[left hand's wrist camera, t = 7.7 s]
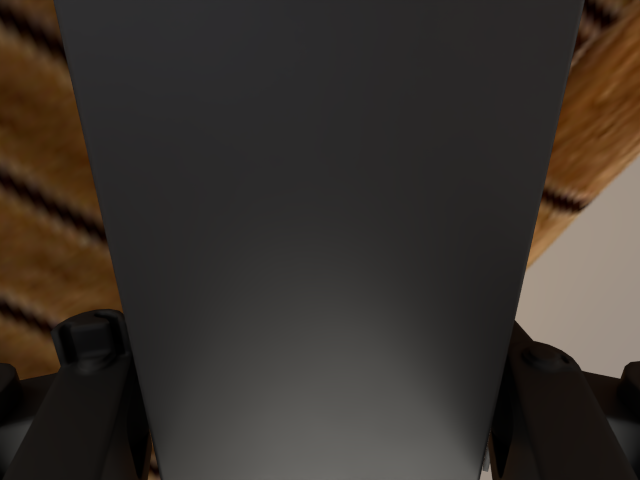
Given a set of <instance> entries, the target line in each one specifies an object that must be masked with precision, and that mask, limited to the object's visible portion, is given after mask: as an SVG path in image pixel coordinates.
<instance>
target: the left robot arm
mask: <svg viewBox="0 0 640 480" xmlns="http://www.w3.org/2000/svg"><path fill="white" fill-rule="evenodd" d="M51 335H52V339H53V342H54V345H55V349H56V352H57V355H58V358H59V362H60V365H61V367H60V369H59V371H58V373H54V374H50V375H45V376H40V377H35V378H30V379H25V380H19V377H18V374H17V371H16V369H15V368H14V367H13V366H12V365H10V364H6V363H0V480H148V473H149V466H150V458H151V451H152V441H151V435H150V430H149V424H148V420H147V415H146V411H145V406H144V402H143V397H142V393H141V388H140V384H139V380H138V375H137V371H136V366H135V362H134V357H133V353H132V348H131V344H130V339H129V335H128V331H127V326H126V322H125V317H124V314H123V313H121V312H120V311H117V310H112V309H99V310H93V311H88V312H84V313H81V314H78V315H75V316H73V317H70V318H68V319H66V320H65V321H63V322H61V323H60V324H58V325H57V326H56V327H55V328H54V329H53V330H52V331H51ZM489 464H490V465H491V472H492V479H493V480H640V361H637V362H630V363H629V364H628V365H626V366H625V368H624V370H623V373H622V376H621V379H619V378H614V377H609V376H604V375H599V374H594V373H589V372H585V371H582V370H581V369H580V367H579V365H578V364H577V363H576V362H575V360H574V359H573V358H572V357H571V356H569V355H568V354H566V353H565V352H563V351H562V350H560V349H557V348H555V347H553V346H551V345H548V344H544V343H540V342H536V341H533V340H532V339H531V338H530V337H529V335H528V334H527V333H526V332H525V331H524V330H523V329H522V328H521V326H520V325H519V324H518V323H517V322H516V321H515V320H514V325H513V329H512V334H511V339H510V343H509V348H508V352H507V357H506V361H505V366H504V371H503V375H502V380H501V384H500V389H499V393H498V398H497V402H496V407H495V412H494V416H493V421H492V425H491V430H490V435H489V440H488V444H487V449H486V453H485V458H484V463H483V471H488V469H489Z"/></svg>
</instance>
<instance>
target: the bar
mask: <svg viewBox="0 0 640 480" xmlns="http://www.w3.org/2000/svg"><path fill="white" fill-rule="evenodd" d="M584 1H585V0H54V5H55V9H56V14H57V18H58V23H59V27H60V32H61V36H62V41H63V45H64V50H65V54H66V58H67V63H68V67H69V72H70V76H71V81H72V85H73V90H74V94H75V99H76V103H77V107H78V112H79V116H80V121H81V125H82V130H83V134H84V139H85V143H86V148H87V152H88V157H89V161H90V165H91V170H92V174H93V179H94V183H95V188H96V192H97V197H98V201H99V206H100V210H101V215H102V219H103V223H104V228H105V232H106V237H107V241H108V246H109V250H110V255H111V259H112V264H113V268H114V273H115V277H116V281H117V286H118V290H119V295H120V299H121V304H122V308H123V313H124V317H125V322H126V326H127V331H128V335H129V339H130V344H131V348H132V353H133V357H134V362H135V366H136V371H137V375H138V380H139V384H140V388H141V393H142V397H143V402H144V406H145V411H146V415H147V420H148V424H149V429H150V433H151V438H152V442H153V446H154V451H155V455H156V460H157V464H158V469H159V473H160V478H161V480H480V475H481V471H482V466H483V462H484V457H485V453H486V448H487V444H488V439H489V434H490V430H491V425H492V421H493V416H494V412H495V407H496V402H497V398H498V393H499V389H500V384H501V380H502V375H503V371H504V366H505V361H506V357H507V352H508V348H509V343H510V339H511V334H512V329H513V325H514V320H515V316H516V311H517V307H518V302H519V298H520V293H521V288H522V284H523V279H524V275H525V270H526V266H527V261H528V256H529V252H530V247H531V243H532V238H533V234H534V229H535V225H536V220H537V215H538V211H539V206H540V202H541V197H542V193H543V188H544V183H545V179H546V174H547V170H548V165H549V161H550V156H551V152H552V147H553V142H554V138H555V133H556V129H557V124H558V120H559V115H560V110H561V106H562V101H563V97H564V92H565V88H566V83H567V79H568V74H569V69H570V65H571V60H572V56H573V51H574V47H575V42H576V37H577V33H578V28H579V24H580V19H581V15H582V10H583V6H584Z"/></svg>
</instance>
